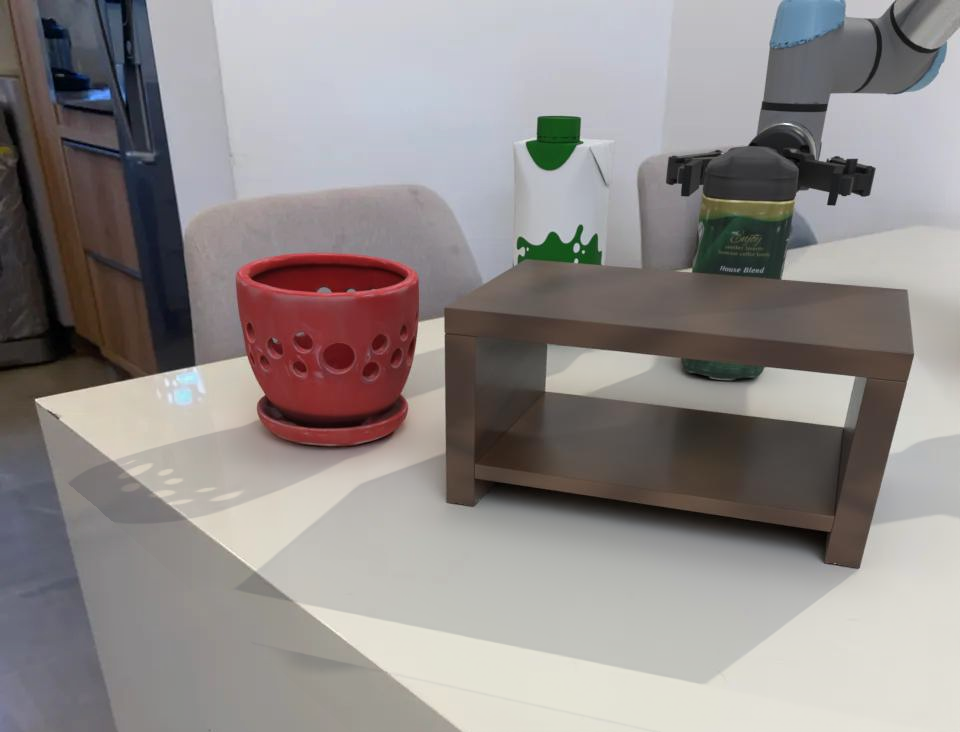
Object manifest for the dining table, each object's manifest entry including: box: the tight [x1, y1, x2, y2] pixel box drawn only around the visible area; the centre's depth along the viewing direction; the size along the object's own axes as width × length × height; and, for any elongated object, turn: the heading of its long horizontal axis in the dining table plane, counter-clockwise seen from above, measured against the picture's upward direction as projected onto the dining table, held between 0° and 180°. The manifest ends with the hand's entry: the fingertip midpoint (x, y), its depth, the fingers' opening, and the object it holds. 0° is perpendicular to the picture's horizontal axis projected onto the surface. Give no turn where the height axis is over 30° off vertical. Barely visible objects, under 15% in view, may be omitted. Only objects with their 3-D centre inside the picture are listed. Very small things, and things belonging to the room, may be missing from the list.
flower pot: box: [235, 252, 420, 447], centre depth 71 cm, size 13×13×12 cm
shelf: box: [443, 259, 915, 569], centre depth 62 cm, size 26×16×12 cm, turn 70°
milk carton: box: [512, 115, 616, 267], centre depth 93 cm, size 9×9×20 cm
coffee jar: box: [680, 145, 799, 381], centre depth 84 cm, size 10×8×19 cm
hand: (758, 185), depth 89 cm, fingers open, 13 cm apart
